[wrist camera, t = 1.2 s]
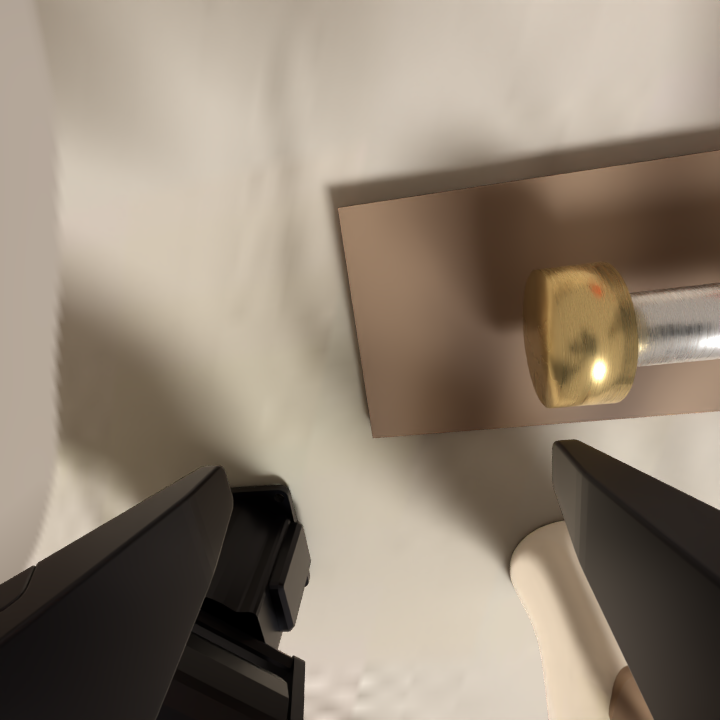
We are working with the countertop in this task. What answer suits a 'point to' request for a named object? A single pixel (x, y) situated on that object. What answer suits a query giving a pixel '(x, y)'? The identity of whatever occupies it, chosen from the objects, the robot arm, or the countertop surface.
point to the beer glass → (572, 633)
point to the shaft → (609, 331)
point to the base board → (519, 289)
